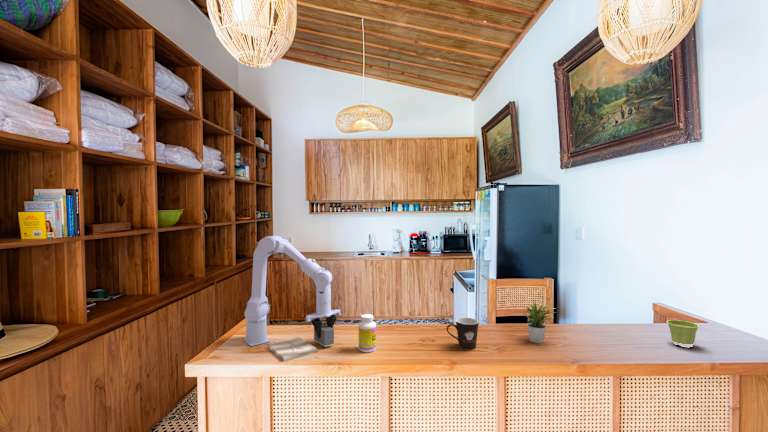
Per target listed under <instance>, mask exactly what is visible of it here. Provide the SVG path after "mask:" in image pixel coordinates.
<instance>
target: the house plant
mask: <svg viewBox="0 0 768 432" xmlns="http://www.w3.org/2000/svg"><path fill="white" fill-rule="evenodd" d="M544 304H545V302H542V303H541V305H540V306H539V308H538V306H537V303H536V300H535V299H534V301H531V304H529V306H530V307H531V308H530V307H528V306H527V305H526V304H524V306H525V309H526V310H527V313H528V314H529V315H528V314H526V313H523V312H522V313H521V315H522V316H525V317H526V318H527V322H526V323H527V324H526V326H527V330H528V337H529V341H530V342H531V343H535V344H543V343H544V341H545V337H546V336H545V335H546V331H547V326H546V325H545V324H543V323H544V322H546V323H548V324H550V321H549V320H552V321H553V320H554V319H553V318H552V316H548V314H554V313H555V314H556V313H558V312H557V311H554V309H557V307H555V308H554V307H553V308H548V309H547V307H549V305H550V303H549V304H546V305H544Z"/></svg>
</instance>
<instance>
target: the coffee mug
mask: <svg viewBox="0 0 768 432" xmlns="http://www.w3.org/2000/svg"><path fill="white" fill-rule="evenodd" d="M455 323H456V324H454V323H450V324H448V325H447V326H446V331H447V333H448V335H450V336H451V337H453V338H454V339H456V340H457V342H458V347H459V348H460V349H461V350H466V351H470V350H475V349H476V347H477V340H478V331H479V323H480V321H479V320H478V319H476V318H472V317H459V318H456V319H455ZM451 326H453V327H455V329H456V334H457V336H455V335H453V334H452V333H451V332H450V331H449V327H451Z"/></svg>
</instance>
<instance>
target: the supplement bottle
mask: <svg viewBox="0 0 768 432" xmlns="http://www.w3.org/2000/svg"><path fill="white" fill-rule="evenodd" d="M360 320H361V321H360V322H359V323H358V351H360V352H362V353H372V352H374V351H376V350H377V324H376V322H375V321H374V320H375V318H374V315H373V314H370V313H367V314H366V313H365V314H362V315H361V317H360Z"/></svg>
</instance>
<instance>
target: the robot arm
mask: <svg viewBox="0 0 768 432" xmlns="http://www.w3.org/2000/svg"><path fill="white" fill-rule="evenodd" d="M274 253H282V254H285V255H287V256H288V257H290V258H291V259H292V260H293V261H295V263H296V262H297V264H299V265H300V269H301V271H302V272H303V273H305V274H306V275H307V276H308V277H309V278H311V279H312V280H313V282H314V285H315V287H316V289H315V290H316V296H315V297H316V298H315V299H316V301H315V302H316V307H315V308H316V309H315V310H316V312H314V313H311V314H307V315H305V322H308V323H309V322H311V324H312V326H313V329H314V328H315V332H316V336H317V337H318V338H321V325H322V323H323V321H322V320H321V319H324V318H325V320H326V322H325V323H326V325H327V326H329V327H331V328H333V329H334V327H335V323H336V321H337V316H341V314H342V312H341V311H342V310H341V309H339V308H337V309H332V288H331V283H332V282H333V274H332V272H331V271H330V270H327V269H325V267H322V266H320V265H319V264H318V263H317V260H316V259H315V258H313V259H312V258H306V257H305V256H304V255H303V254H302V253H301V252H300V251H299V250H298V249H296V247H295V246H293V244H292V243H290V241H289V240H288V239H286V238H285V237H284V236H282V235H280V234H275V235H268V236H267V235H266V236H264V237H263V238H262V239H260V240H258V244H257V246H256V248H255V250H254V251H253V255H252V258H253V259H252V273H251V274H252V276H251V277H252V278H251V281H252V282H251V294H250V295H251V296H250V299H248V301H247V302H246V308H245V310H244V312H243V313H244V319H245V320H247V321H246V324H245V337H244V338H243V341H244V342H246V344H247V345H248V346H250V347H253V346H258V345H262V344H266V343H270V342H271V340H270V339H269V338H268V332H267V329H268V323H267V322H268V320H267V319H268V317H267V315H268V314H269V312H270V304H269V298H268V297H267V296H266V293H267V292H266V290H267V289H266V288H267V273H268V272H267V270H268V258H269V257H270V256H271V255H273V254H274Z"/></svg>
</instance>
